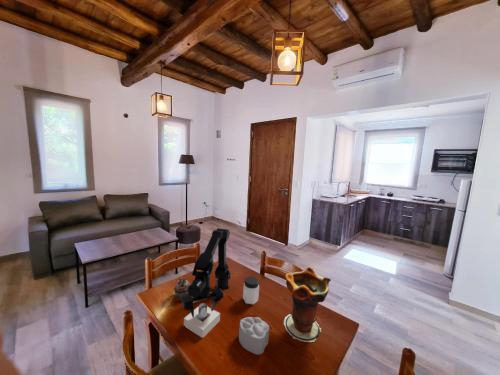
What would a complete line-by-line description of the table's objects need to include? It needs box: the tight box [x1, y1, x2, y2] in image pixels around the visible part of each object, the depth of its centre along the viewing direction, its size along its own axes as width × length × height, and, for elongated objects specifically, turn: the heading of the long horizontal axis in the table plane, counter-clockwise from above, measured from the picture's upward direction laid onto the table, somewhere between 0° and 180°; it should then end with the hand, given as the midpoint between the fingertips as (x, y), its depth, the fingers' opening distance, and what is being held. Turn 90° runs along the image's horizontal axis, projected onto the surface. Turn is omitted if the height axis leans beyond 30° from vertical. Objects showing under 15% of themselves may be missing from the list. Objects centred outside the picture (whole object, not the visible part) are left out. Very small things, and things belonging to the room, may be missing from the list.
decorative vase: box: [283, 266, 332, 343], centre depth 99 cm, size 21×23×28 cm
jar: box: [242, 275, 260, 305], centre depth 117 cm, size 9×8×12 cm
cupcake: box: [173, 278, 191, 302], centre depth 116 cm, size 10×10×10 cm
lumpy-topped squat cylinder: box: [238, 316, 270, 355], centre depth 90 cm, size 10×13×9 cm
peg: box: [198, 302, 208, 322], centre depth 98 cm, size 4×4×9 cm
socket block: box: [183, 306, 221, 339], centre depth 98 cm, size 12×12×4 cm
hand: (202, 313), depth 97 cm, fingers open, 9 cm apart
